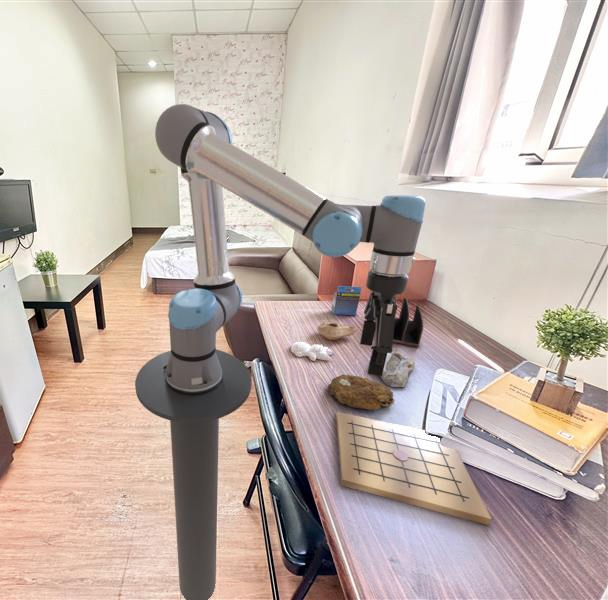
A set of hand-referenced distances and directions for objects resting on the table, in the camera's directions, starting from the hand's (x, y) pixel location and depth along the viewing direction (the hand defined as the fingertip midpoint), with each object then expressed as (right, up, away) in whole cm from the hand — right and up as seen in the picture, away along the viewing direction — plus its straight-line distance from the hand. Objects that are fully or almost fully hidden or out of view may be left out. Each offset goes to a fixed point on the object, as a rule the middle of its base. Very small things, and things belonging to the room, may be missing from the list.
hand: (369, 358), depth 73 cm
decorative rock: (0, -11, +5) cm, 12 cm away
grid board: (-1, -18, -13) cm, 22 cm away
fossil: (+15, -7, +16) cm, 23 cm away
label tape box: (+17, +8, +52) cm, 55 cm away
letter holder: (+30, +2, +37) cm, 48 cm away
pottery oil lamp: (+6, 0, +33) cm, 34 cm away
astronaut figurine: (-6, -3, +24) cm, 25 cm away
